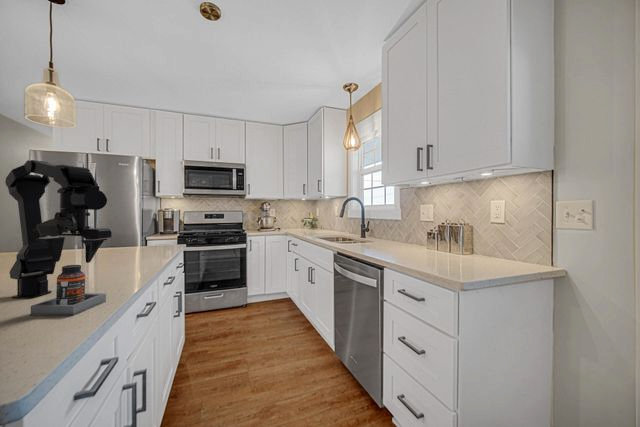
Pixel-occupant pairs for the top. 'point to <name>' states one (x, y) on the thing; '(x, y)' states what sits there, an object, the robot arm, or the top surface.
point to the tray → (67, 306)
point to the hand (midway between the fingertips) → (72, 262)
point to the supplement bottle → (70, 285)
